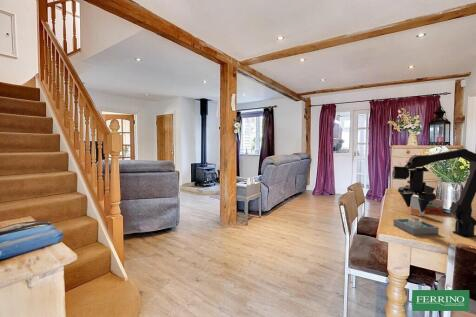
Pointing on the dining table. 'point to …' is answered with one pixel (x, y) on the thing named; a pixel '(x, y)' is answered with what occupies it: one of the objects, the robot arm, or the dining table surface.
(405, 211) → the dining table surface
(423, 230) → the box
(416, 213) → the skincare box
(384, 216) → the dining table surface
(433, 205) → the medicine box
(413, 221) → the cube with square boss
